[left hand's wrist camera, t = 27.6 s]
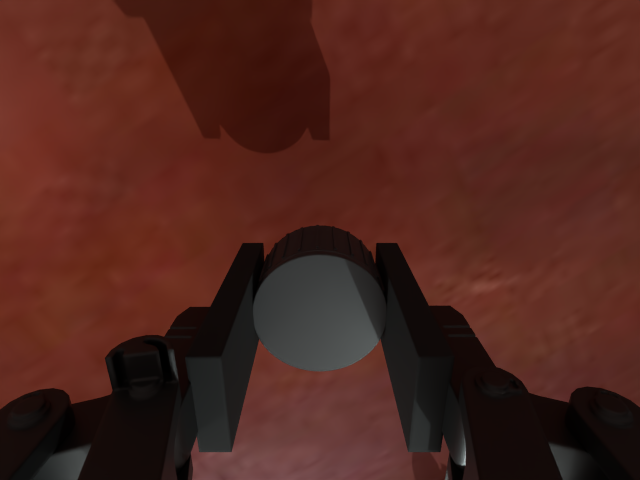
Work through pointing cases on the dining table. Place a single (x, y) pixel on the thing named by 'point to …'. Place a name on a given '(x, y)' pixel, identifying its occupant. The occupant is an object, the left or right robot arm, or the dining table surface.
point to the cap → (319, 300)
